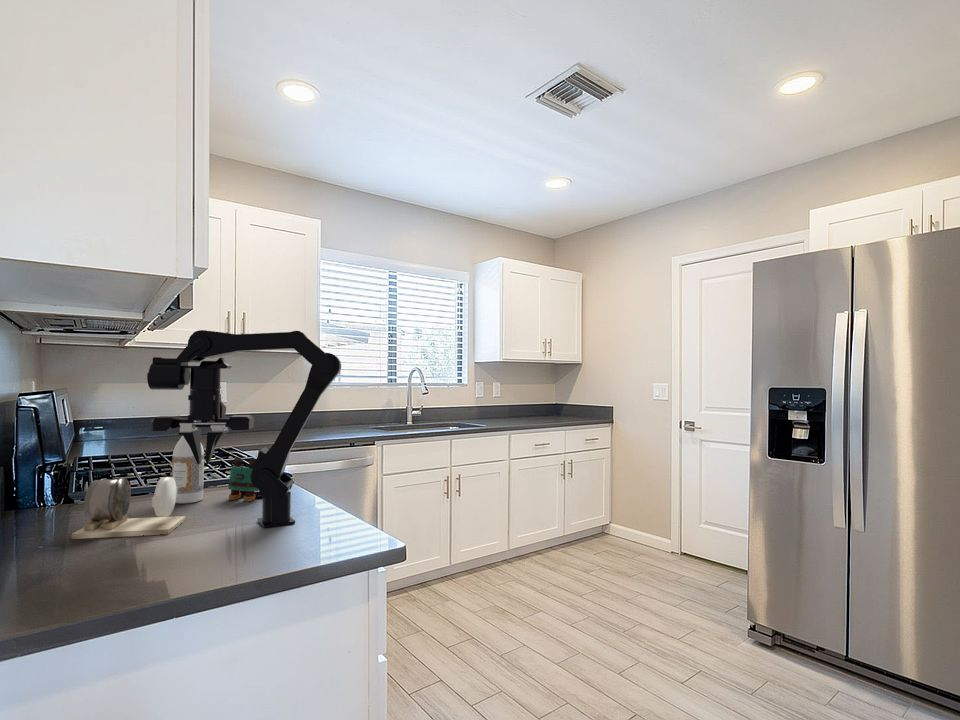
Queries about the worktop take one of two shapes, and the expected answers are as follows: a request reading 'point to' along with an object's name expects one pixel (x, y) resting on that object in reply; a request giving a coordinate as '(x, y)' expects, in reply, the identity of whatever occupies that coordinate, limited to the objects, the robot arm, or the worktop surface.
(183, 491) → the bath foam
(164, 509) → the white oval slab
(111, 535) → the birch board
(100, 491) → the cylinder
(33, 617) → the worktop surface
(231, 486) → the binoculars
